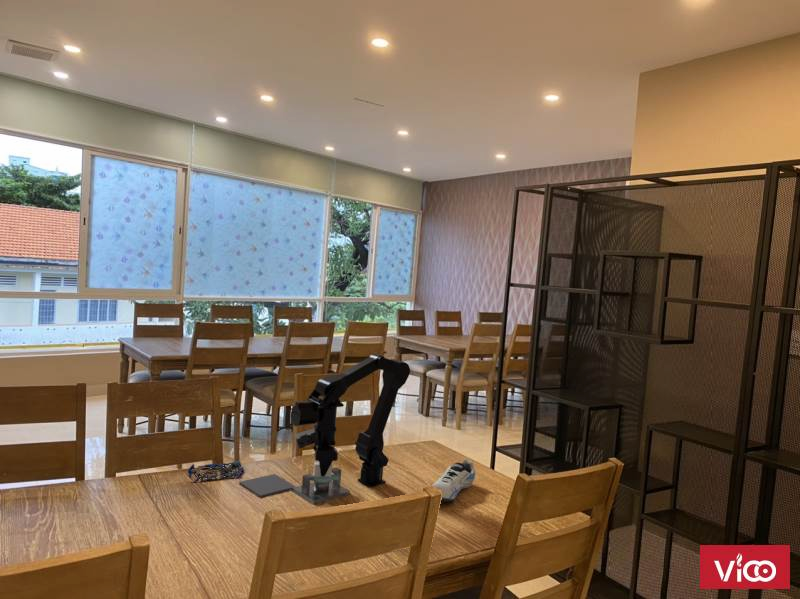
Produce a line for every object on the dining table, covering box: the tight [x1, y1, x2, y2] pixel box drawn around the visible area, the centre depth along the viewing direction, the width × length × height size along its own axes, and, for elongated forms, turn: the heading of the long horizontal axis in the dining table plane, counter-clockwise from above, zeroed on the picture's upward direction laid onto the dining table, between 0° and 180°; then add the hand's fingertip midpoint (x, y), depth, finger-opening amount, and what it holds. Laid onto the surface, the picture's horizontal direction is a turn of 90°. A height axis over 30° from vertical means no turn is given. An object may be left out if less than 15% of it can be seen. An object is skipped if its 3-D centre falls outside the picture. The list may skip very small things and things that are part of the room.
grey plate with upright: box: [291, 467, 351, 505], centre depth 166 cm, size 13×11×6 cm
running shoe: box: [431, 458, 476, 503], centre depth 173 cm, size 9×25×9 cm, turn 151°
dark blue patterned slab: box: [187, 460, 245, 483], centre depth 175 cm, size 16×12×2 cm
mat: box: [239, 473, 297, 498], centre depth 168 cm, size 12×12×1 cm
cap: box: [311, 461, 339, 483], centre depth 166 cm, size 10×6×5 cm, turn 104°
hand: (322, 474), depth 166 cm, fingers closed on cap, 2 cm apart
